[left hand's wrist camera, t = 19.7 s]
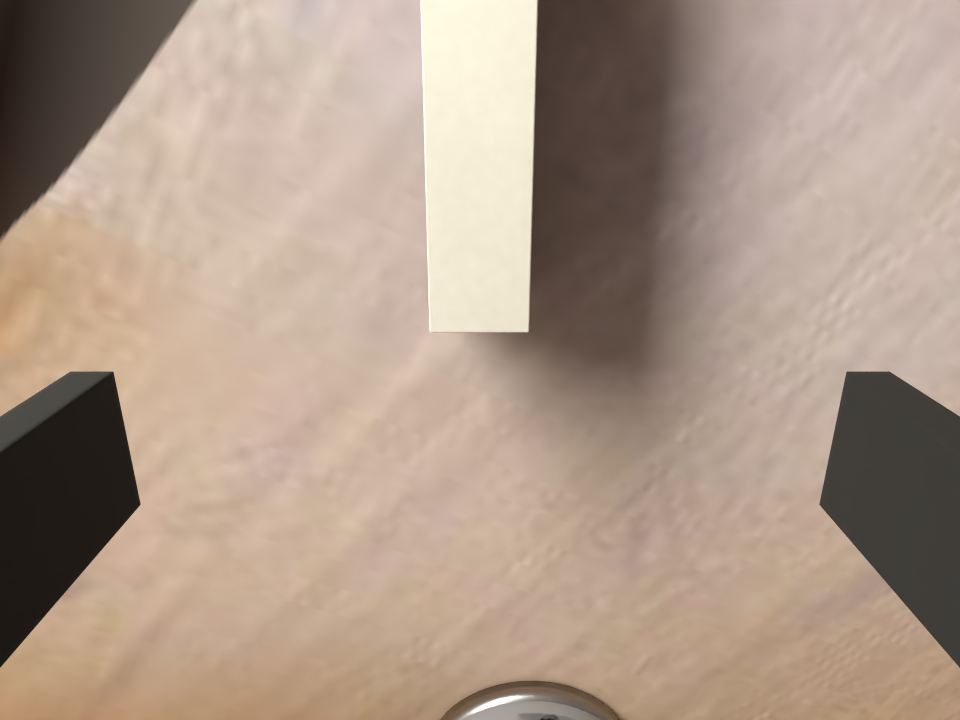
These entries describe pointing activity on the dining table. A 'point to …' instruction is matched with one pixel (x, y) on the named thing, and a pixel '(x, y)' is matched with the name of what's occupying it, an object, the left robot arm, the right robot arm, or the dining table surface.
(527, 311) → the bar
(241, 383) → the dining table surface
